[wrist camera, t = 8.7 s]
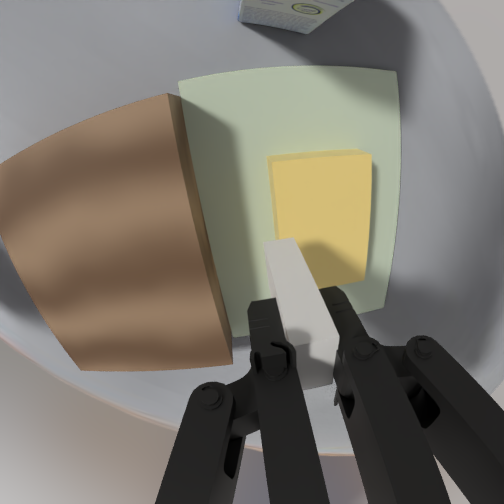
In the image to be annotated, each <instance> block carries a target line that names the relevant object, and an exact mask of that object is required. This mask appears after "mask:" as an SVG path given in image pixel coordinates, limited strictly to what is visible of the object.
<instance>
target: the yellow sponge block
mask: <svg viewBox="0 0 504 504" xmlns="http://www.w3.org/2000/svg"><path fill="white" fill-rule="evenodd" d="M266 158H267V166H268V175H269V184H270V193H271V202H272V211H273V221H274V231H275V240H280V239H286V238H292V237H294V239H295V241H296V243H297V245H298V247H299V249H300V251H301V253H302V256H303V258H304V260H305V262H306V264H307V266H308V268H309V270H310V272H311V274H312V277H313V279H314V281H315V283H316V285H317V287H318V289H321V288H326V287H331V286H339V285H344V284H349V283H354V282H359V281H364V279H365V271H366V262H367V252H368V241H369V228H370V212H371V185H372V154H370V153H367V152H365V151H362V150H359V149H340V150H324V151H311V152H300V153H289V154H280V155H271V156H266Z"/></svg>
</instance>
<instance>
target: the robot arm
mask: <svg viewBox="0 0 504 504" xmlns="http://www.w3.org/2000/svg"><path fill="white" fill-rule="evenodd" d="M263 244H264V252H265V260H266V268H267V276H268V284H269V290H270V294H271V298H269V299H263V300H257V301H251V303H250V305H249V308H248V310H247V315H248V324H249V332H250V341H251V350H252V351H251V352H250V363H251V369H250V370H249V372H248V373H247V374H246V375H245V376H244V377H243V378H241V379H239V380H237V381H235V382H233V383H230V384H228V385H225V384H223V383H219V382H207V383H204V384H202V385H199V386H198V387H197V388H196V389H195V390H194V391H193V392H192V394H191V396H190V398H189V401H188V404H187V407H186V410H185V413H184V416H183V419H182V422H181V425H180V428H179V431H178V434H177V437H176V440H175V443H174V447H173V449H172V452H171V455H170V458H169V462H168V465H167V468H166V471H165V474H164V477H163V480H162V483H161V486H160V489H159V493H158V496H157V499H156V502H155V504H232V503H233V498H234V494H235V489H236V484H237V479H238V475H239V470H240V465H241V460H242V455H243V449H244V445H245V439H246V435H248V434H251V433H253V432H255V431H257V430H260V433H261V440H262V448H263V455H264V463H265V470H266V478H267V485H268V492H269V498H270V504H330V502H329V499H328V494H327V489H326V485H325V481H324V477H323V472H322V468H321V464H320V460H319V455H318V451H317V447H316V443H315V439H314V435H313V431H312V427H311V423H310V419H309V414H308V410H307V406H306V402H305V398H304V394H303V390H307V389H312V388H317V387H321V386H325V385H329V384H332V383H333V377H334V379H335V382H336V385H337V389H336V394H335V398H334V406H336V405H337V404H338V403H339V406H340V409H341V412H342V415H343V419H344V422H345V425H346V428H347V431H348V435H349V438H350V441H351V444H352V448H353V451H354V454H355V458H356V461H357V465H358V468H359V471H360V475H361V478H362V482H363V486H364V489H365V493H366V496H367V500H368V504H451V502H450V499H449V496H448V493H447V490H446V487H445V485H444V482H443V479H442V476H441V474H440V471H439V468H438V466H437V463H436V461H435V458H434V456H435V457H436V458H437V460H438V461H439V462H440V463H441V465H442V466H443V468H444V469H445V470H446V471H447V473H448V474H449V476H450V477H451V478H452V479H453V481H454V482H455V483H456V485H457V486H458V487H459V489H460V490H461V491H462V493H463V494H464V495H465V497H466V498H467V499H468V501H469V502H470V504H504V411H503V410H502V408H501V407H500V406H499V405H498V404H497V403H496V402H495V401H494V400H493V399H492V397H491V396H490V395H489V394H488V393H487V392H486V391H485V390H484V389H483V388H482V387H481V386H480V385H479V384H478V383H477V381H476V380H475V379H474V378H473V377H472V376H471V375H470V374H469V373H468V372H467V371H466V370H465V369H464V368H463V367H462V366H461V365H460V364H459V363H458V362H457V361H456V360H455V359H454V358H453V357H452V356H451V355H450V354H449V353H448V352H447V351H446V350H445V349H444V348H443V347H442V346H441V345H439V344H438V343H437V342H436V341H435V340H434V339H432V338H431V337H428V336H424V335H423V336H415V337H413V338H411V339H410V340H409V341H408V342H407V345H406V346H383V345H380V343H379V342H378V341H376V340H375V339H373V338H370V337H369V336H368V334H367V332H366V330H365V329H364V327H363V325H362V323H361V321H360V319H359V317H358V316H357V314H356V312H355V310H354V309H353V306H352V305H351V303H350V302H349V299H348V297H347V296H346V294H345V292H344V291H342V290H341V289H340V288H338V287H337V286H331V287H326V288H321V289H318V287H317V285H316V283H315V281H314V279H313V277H312V274H311V272H310V270H309V268H308V266H307V264H306V262H305V260H304V258H303V256H302V253H301V251H300V249H299V247H298V245H297V243H296V241H295V239H294V237H292V238H286V239H280V240H273V241H267V242H263ZM433 455H434V456H433Z"/></svg>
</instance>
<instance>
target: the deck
mask: <svg viewBox="0 0 504 504" xmlns="http://www.w3.org/2000/svg"><path fill="white" fill-rule="evenodd" d="M0 235H1V237H2V240H3V242H4V245H5V247H6V249H7V251H8V254H9V256H10V258H11V260H12V262H13V264H14V267H15V269H16V271H17V273H18V275H19V277H20V279H21V280H22V282H23V284H24V286H25V288H26V290H27V292H28V293H29V295H30V297H31V299H32V300H33V302H34V304H35V306H36V307H37V309H38V311H39V312H40V314H41V315H42V317H43V319H44V320H45V322H46V323H47V325H48V326H49V328H50V329H51V331H52V332H53V334H54V335H55V337H56V338H57V339H58V341H59V342H60V344H61V345H62V346H63V348H64V349H65V351H66V352H67V353H68V355H69V356H70V357H71V358H72V360H73V361H74V362H75V364H76V365H77V366H78V367H79V369H80V370H83V371H158V370H177V369H191V368H202V367H213V366H222V365H230V364H233V355H232V335H231V327H230V323H229V319H228V316H227V312H226V308H225V304H224V300H223V296H222V292H221V288H220V284H219V280H218V276H217V272H216V268H215V264H214V260H213V255H212V251H211V247H210V242H209V238H208V234H207V229H206V225H205V220H204V216H203V211H202V207H201V202H200V197H199V192H198V188H197V183H196V178H195V173H194V168H193V163H192V158H191V153H190V147H189V142H188V137H187V131H186V126H185V120H184V115H183V109H182V103H181V97H179V96H176V95H172V94H169V93H166V94H162V95H158V96H155V97H151V98H148V99H144V100H141V101H137V102H134V103H131V104H128V105H125V106H122V107H119V108H116V109H113V110H110V111H107V112H105V113H102V114H99V115H97V116H94V117H92V118H89V119H87V120H84V121H82V122H79V123H77V124H75V125H73V126H70V127H68V128H66V129H64V130H61V131H59V132H57V133H55V134H53V135H51V136H49V137H47V138H45V139H43V140H41V141H39V142H37V143H35V144H34V145H32V146H30V147H28V148H26V149H25V150H23V151H21V152H19V153H18V154H16V155H14V156H13V157H11V158H9V159H8V160H6V161H4V162H3V163H1V164H0Z"/></svg>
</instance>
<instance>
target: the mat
mask: <svg viewBox="0 0 504 504" xmlns="http://www.w3.org/2000/svg"><path fill="white" fill-rule="evenodd" d="M178 85H179V91H180V97H181V103H182V109H183V115H184V120H185V126H186V131H187V137H188V142H189V147H190V153H191V158H192V163H193V168H194V173H195V178H196V183H197V188H198V192H199V197H200V202H201V207H202V211H203V216H204V220H205V225H206V229H207V234H208V238H209V242H210V247H211V251H212V255H213V260H214V264H215V268H216V272H217V276H218V280H219V284H220V288H221V292H222V296H223V300H224V304H225V308H226V312H227V316H228V319H229V323H230V327H231V331H232V335H233V338H235V337H242V336H249V335H250V332H249V324H248V315H247V310H248V308H249V305H250V303H251V301H257V300H263V299H269V298H271V294H270V290H269V284H268V276H267V268H266V260H265V252H264V244H263V242H267V241H273V240H275V231H274V221H273V211H272V202H271V193H270V184H269V175H268V166H267V158H266V156H271V155H280V154H289V153H300V152H311V151H324V150H340V149H359V150H362V151H365V152H367V153H370V154H372V185H371V212H370V228H369V241H368V252H367V262H366V271H365V279H364V281H359V282H354V283H349V284H344V285H339V286H337V287H338V288H340V289H341V290H342V291H344V292H345V294H346V296H347V297H348V299H349V302H350V303H351V305H352V306H353V309H354V310H355V312H356V314H361V313H365V312H369V311H373V310H377V309H380V308H383V307H384V303H385V298H386V293H387V288H388V282H389V277H390V271H391V265H392V258H393V251H394V244H395V236H396V227H397V217H398V206H399V192H400V170H401V128H400V106H399V93H398V82H397V73H396V71H389V70H381V69H371V68H360V67H346V66H283V67H268V68H257V69H247V70H239V71H231V72H225V73H218V74H212V75H207V76H201V77H196V78H191V79H187V80H182V81H178Z"/></svg>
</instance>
